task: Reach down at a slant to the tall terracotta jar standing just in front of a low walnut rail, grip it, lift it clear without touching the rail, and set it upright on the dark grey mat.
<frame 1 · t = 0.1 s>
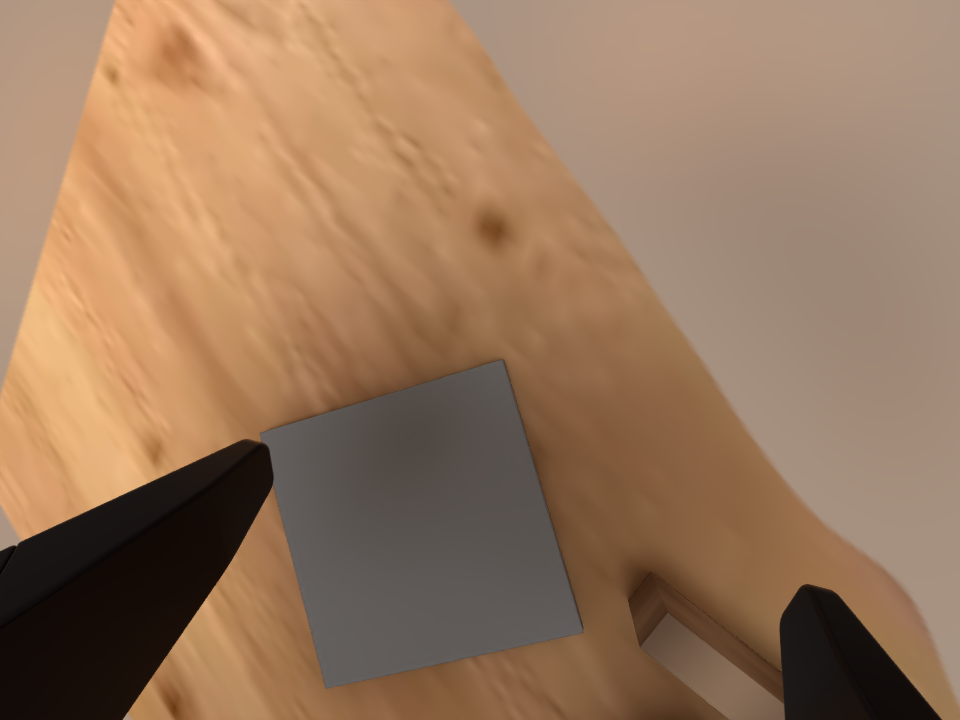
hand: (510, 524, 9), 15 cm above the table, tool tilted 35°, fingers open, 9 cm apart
dark grey mat: (416, 523, 25), on the table
walnut rail: (762, 682, 22), on the table
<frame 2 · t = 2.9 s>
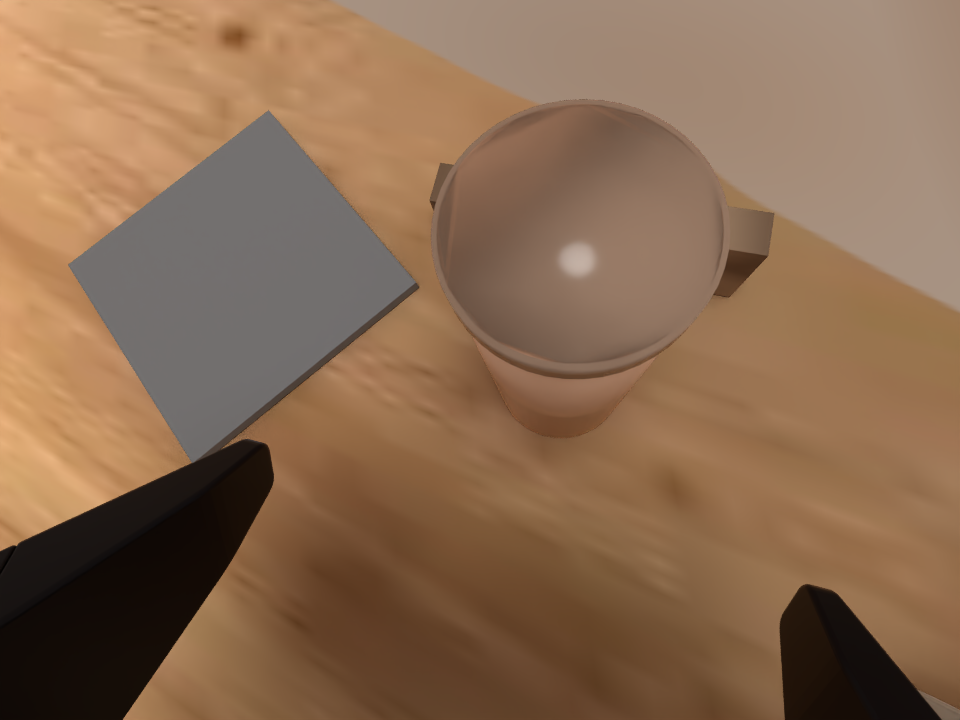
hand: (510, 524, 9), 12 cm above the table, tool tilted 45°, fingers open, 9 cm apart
dark grey mat: (240, 278, 25), on the table
walnut rail: (586, 253, 23), on the table
terracotta jar: (559, 376, 22), on the table
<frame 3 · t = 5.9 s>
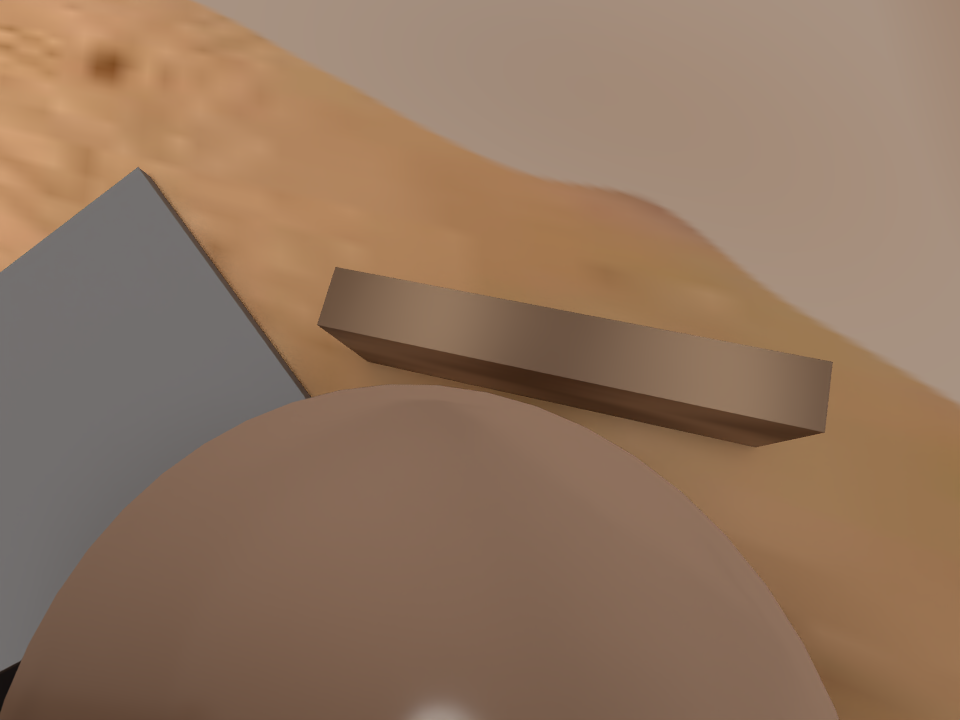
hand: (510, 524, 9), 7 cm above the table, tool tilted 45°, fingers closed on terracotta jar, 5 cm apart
dark grey mat: (91, 397, 18), on the table
walnut rail: (555, 376, 17), on the table
terracotta jar: (515, 558, 16), on the table, touching gripper
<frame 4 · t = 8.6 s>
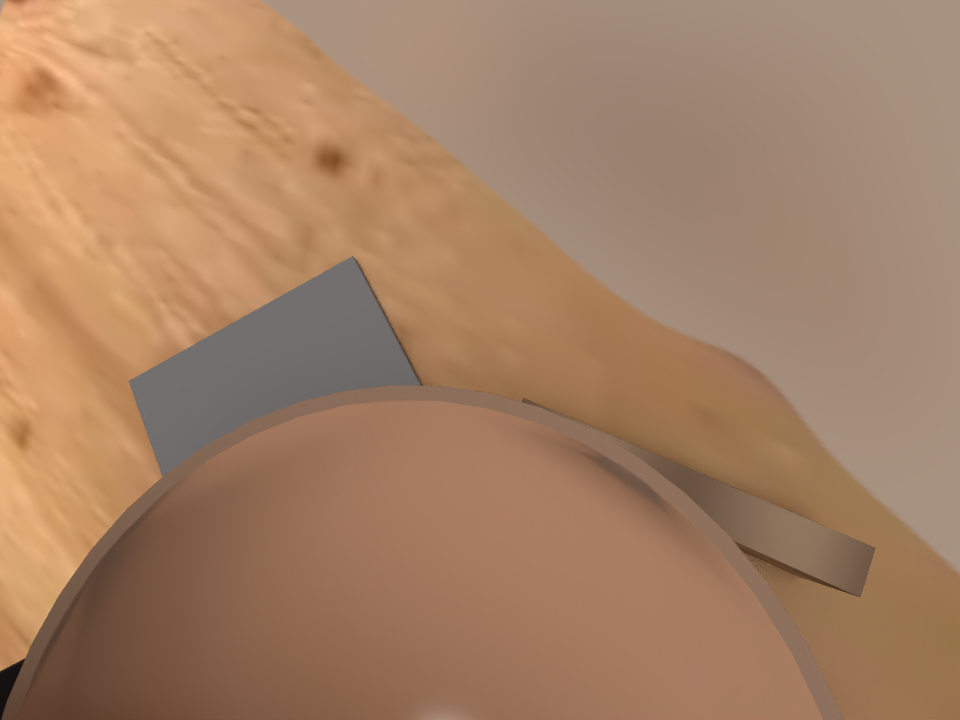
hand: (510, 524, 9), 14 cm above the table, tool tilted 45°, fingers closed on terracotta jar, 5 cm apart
dark grey mat: (296, 431, 24), on the table
walnut rail: (655, 490, 22), on the table
terracotta jar: (516, 558, 16), point 7 cm above the table, touching gripper
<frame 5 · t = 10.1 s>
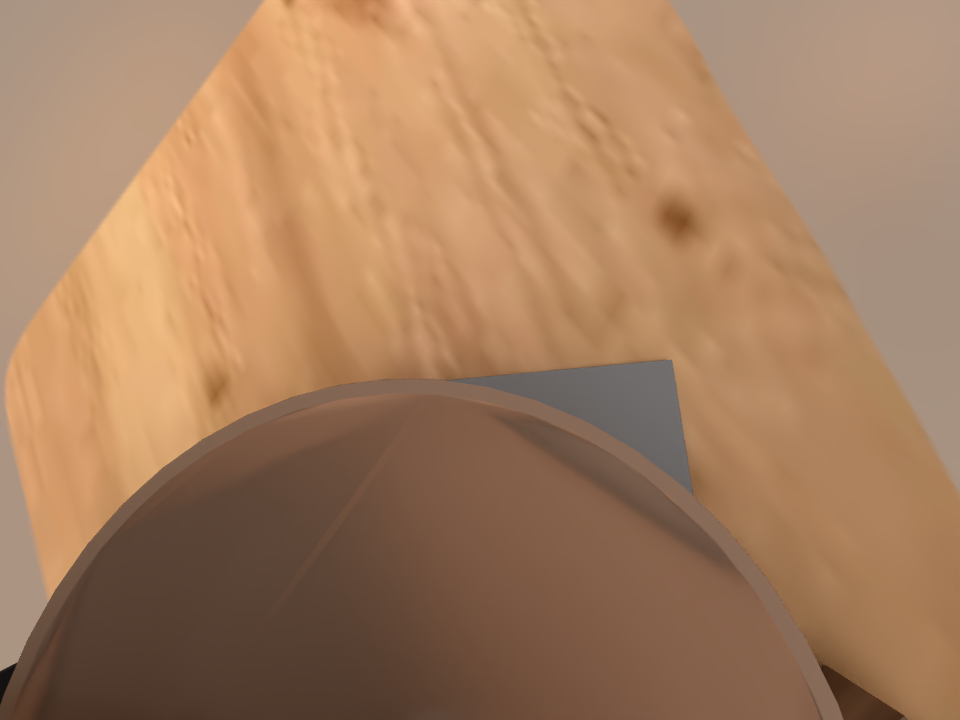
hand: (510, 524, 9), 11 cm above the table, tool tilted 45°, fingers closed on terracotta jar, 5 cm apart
dark grey mat: (523, 539, 20), on the table
terracotta jar: (515, 557, 16), point 4 cm above the table, touching gripper
when the fingers open (9 cm above the table, at t = 11.3 s): terracotta jar drops 1 cm, resting on dark grey mat.
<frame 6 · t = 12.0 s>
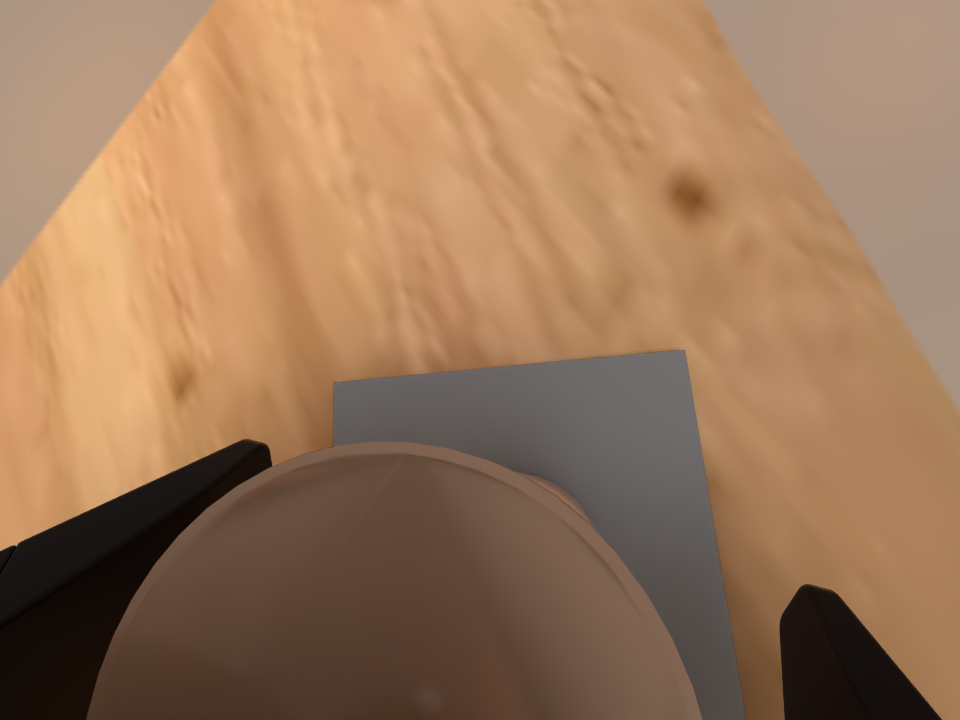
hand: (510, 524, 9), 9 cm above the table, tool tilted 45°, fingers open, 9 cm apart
dark grey mat: (519, 550, 17), on the table
terracotta jar: (518, 555, 17), point 1 cm above the table, touching dark grey mat
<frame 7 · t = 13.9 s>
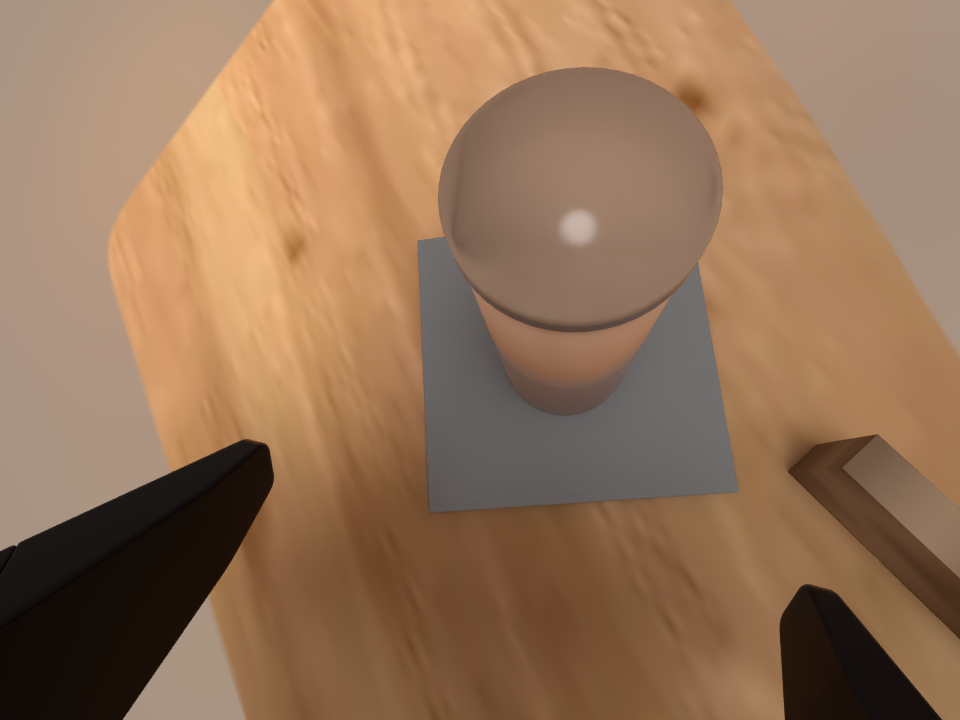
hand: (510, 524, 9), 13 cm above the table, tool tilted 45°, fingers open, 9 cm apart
dark grey mat: (563, 358, 23), on the table
walnut rail: (935, 584, 20), on the table
terracotta jar: (563, 356, 23), point 1 cm above the table, touching dark grey mat
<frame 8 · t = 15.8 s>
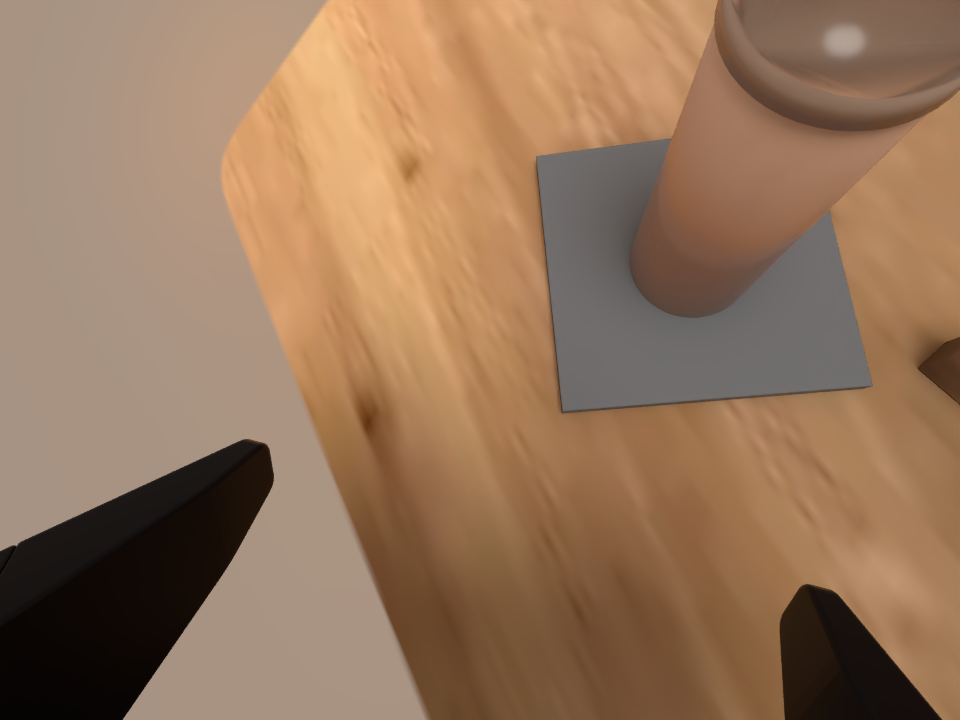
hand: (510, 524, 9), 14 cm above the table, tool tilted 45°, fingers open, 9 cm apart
dark grey mat: (685, 266, 24), on the table
terracotta jar: (689, 261, 23), point 1 cm above the table, touching dark grey mat
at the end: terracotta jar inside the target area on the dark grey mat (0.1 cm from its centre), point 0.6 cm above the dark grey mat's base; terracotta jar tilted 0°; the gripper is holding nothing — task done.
